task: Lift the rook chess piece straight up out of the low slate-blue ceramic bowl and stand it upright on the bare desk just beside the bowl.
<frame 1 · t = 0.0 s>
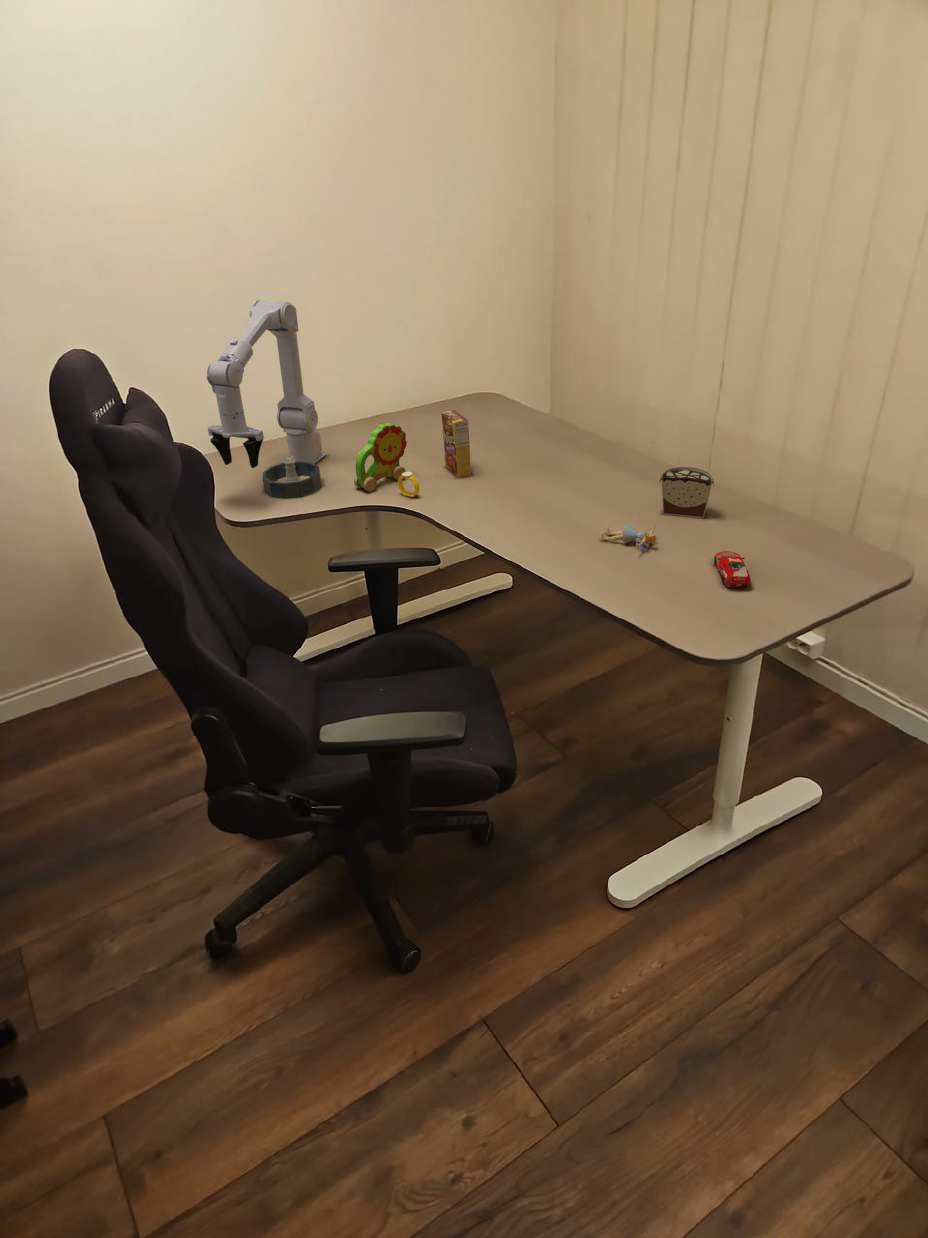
hand: (241, 464, 218), 10 cm above the table, tool pointing down, fingers open, 7 cm apart
rook chess piece: (293, 487, 231), resting in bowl
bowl: (293, 486, 231), on the table
toy lion: (384, 482, 231), on the table
race car: (731, 575, 183), on the table
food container: (684, 511, 209), on the table
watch: (409, 496, 223), on the table
fairy figurine: (629, 543, 196), on the table
candy box: (457, 471, 235), on the table
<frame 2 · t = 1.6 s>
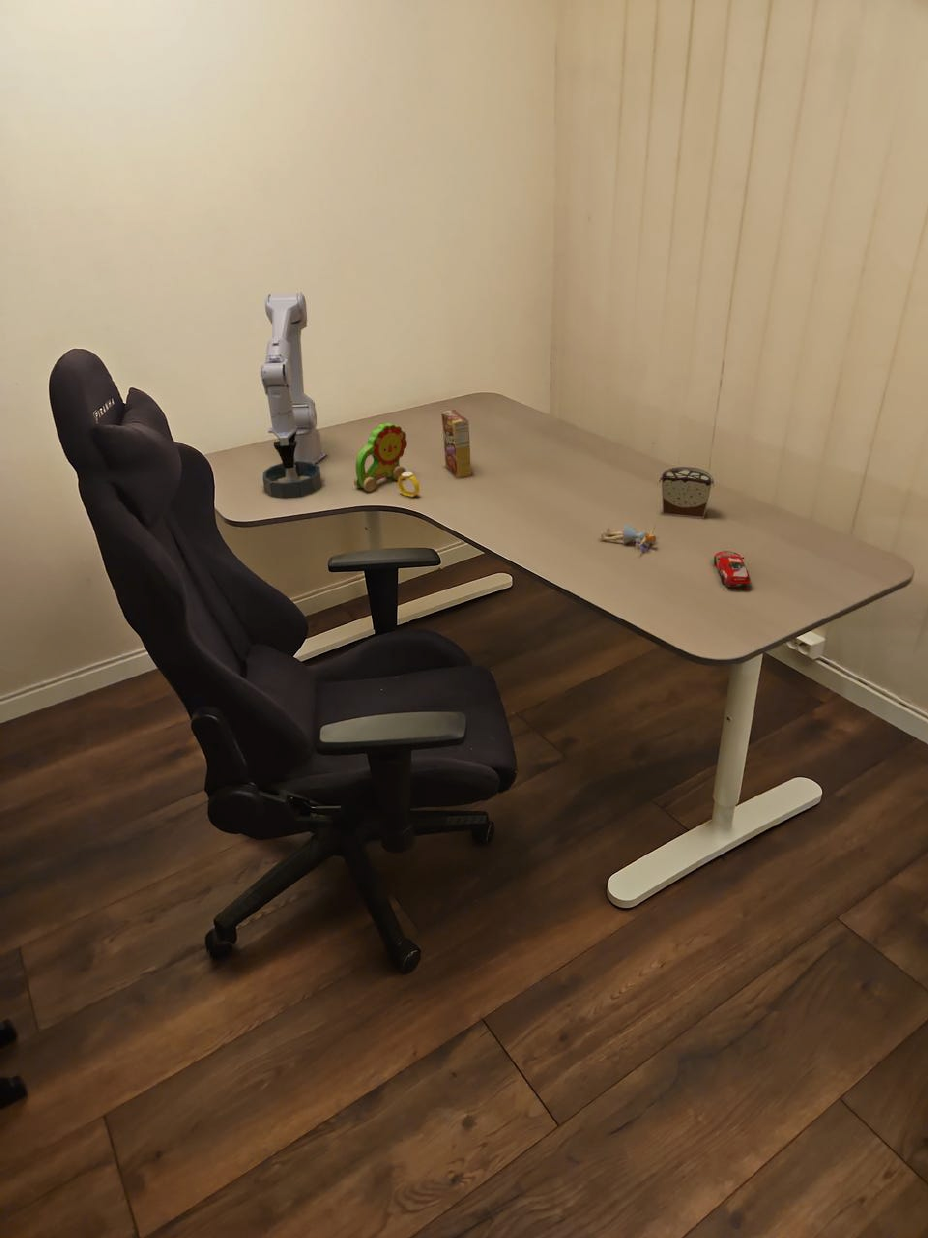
hand: (289, 462, 227), 7 cm above the table, tool pointing down, fingers open, 7 cm apart
nothing on the table moved.
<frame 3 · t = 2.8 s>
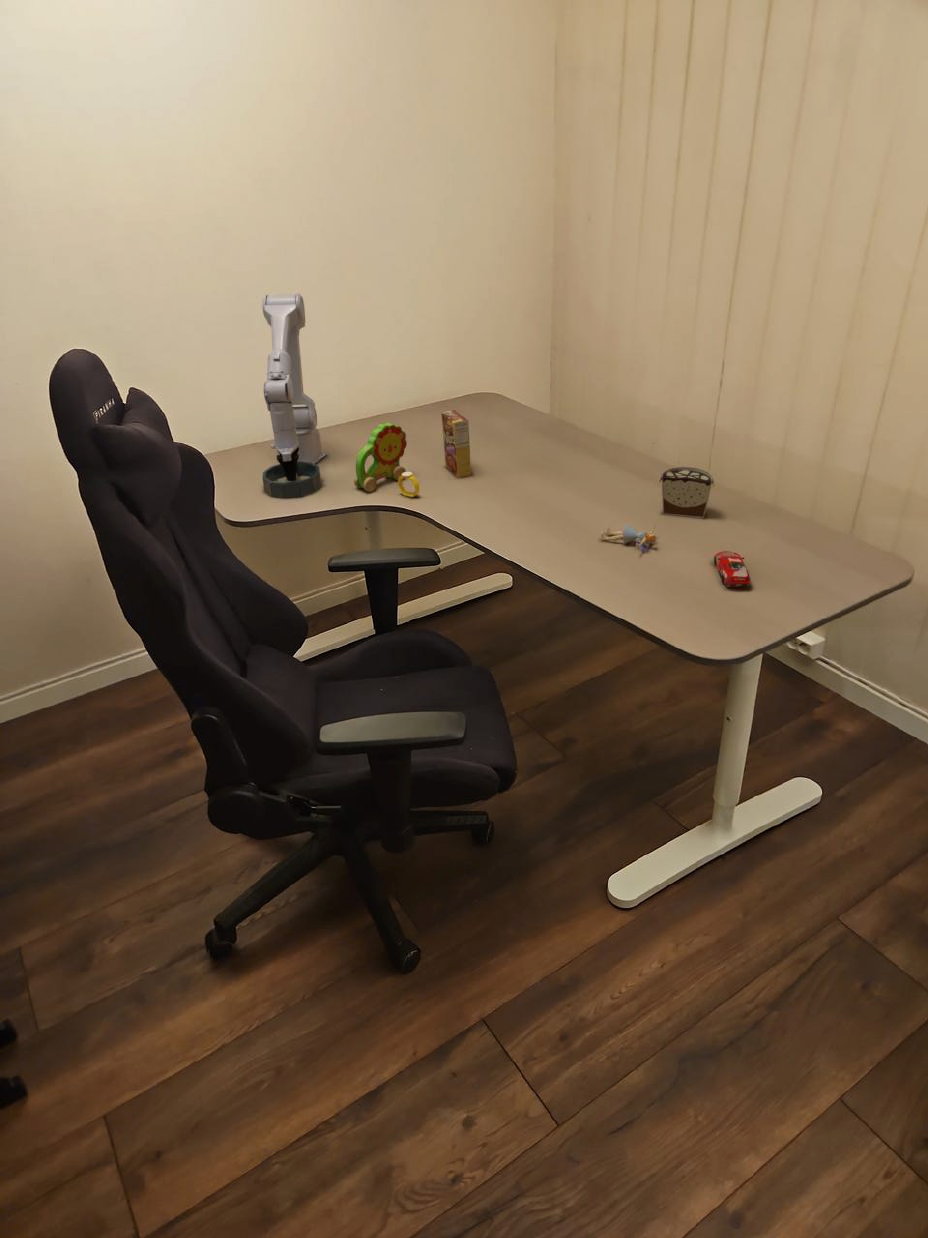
hand: (291, 477, 230), 3 cm above the table, tool pointing down, fingers closed on rook chess piece, 3 cm apart
rook chess piece: (293, 487, 231), resting in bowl, touching gripper
everything else where it was.
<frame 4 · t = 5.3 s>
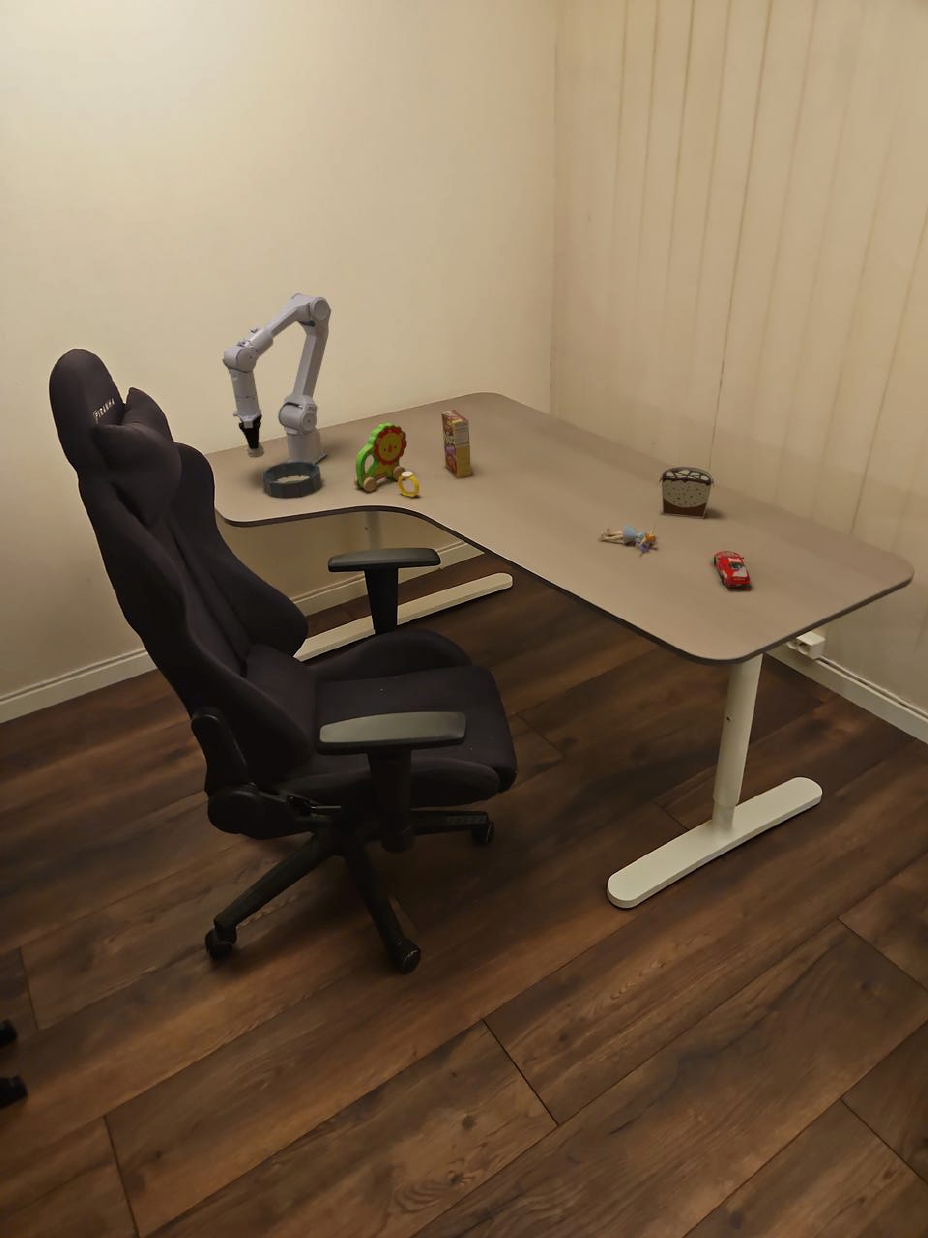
hand: (254, 445, 231), 10 cm above the table, tool pointing down, fingers closed on rook chess piece, 3 cm apart
rook chess piece: (256, 455, 232), point 7 cm above the table, touching gripper
everything else where it was.
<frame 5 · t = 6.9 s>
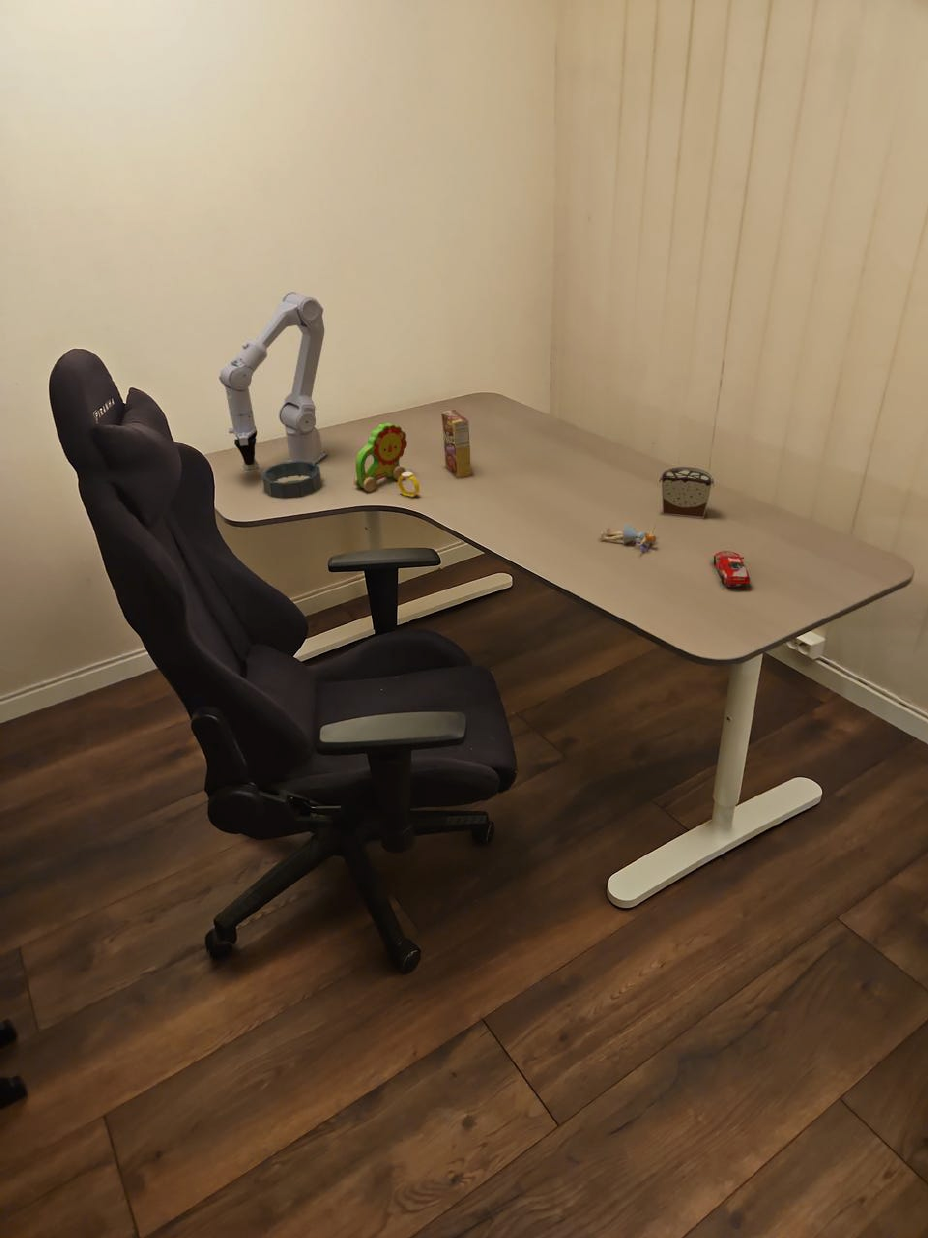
hand: (250, 461, 234), 5 cm above the table, tool pointing down, fingers closed on rook chess piece, 3 cm apart
rook chess piece: (252, 471, 236), point 2 cm above the table, touching gripper
everything else where it was.
when the fingers open (3 cm above the table, at t = 7.9 s): rook chess piece stays where it is, on the table.
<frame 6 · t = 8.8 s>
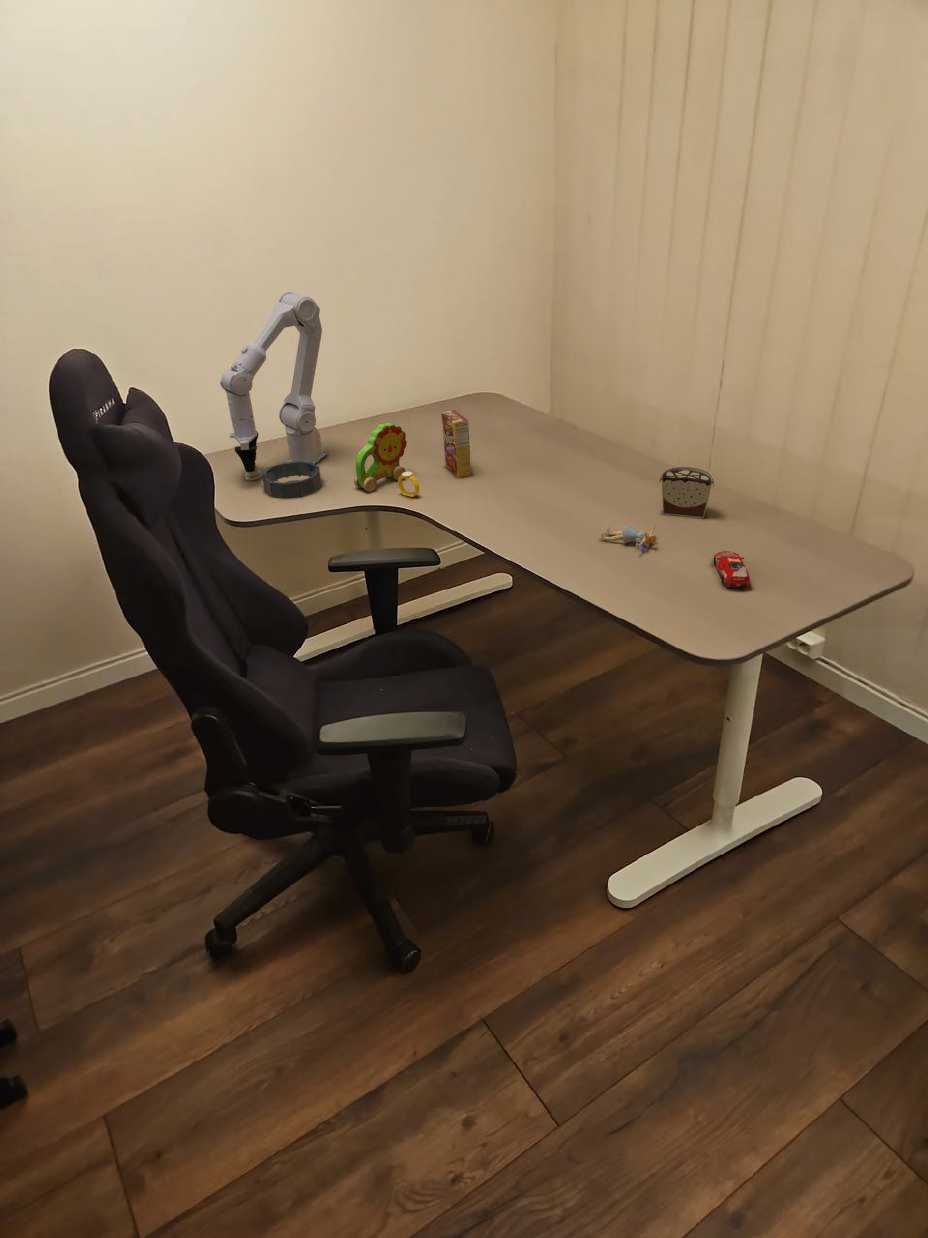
hand: (251, 465, 235), 3 cm above the table, tool pointing down, fingers open, 7 cm apart
rook chess piece: (253, 478, 237), on the table
everything else where it was.
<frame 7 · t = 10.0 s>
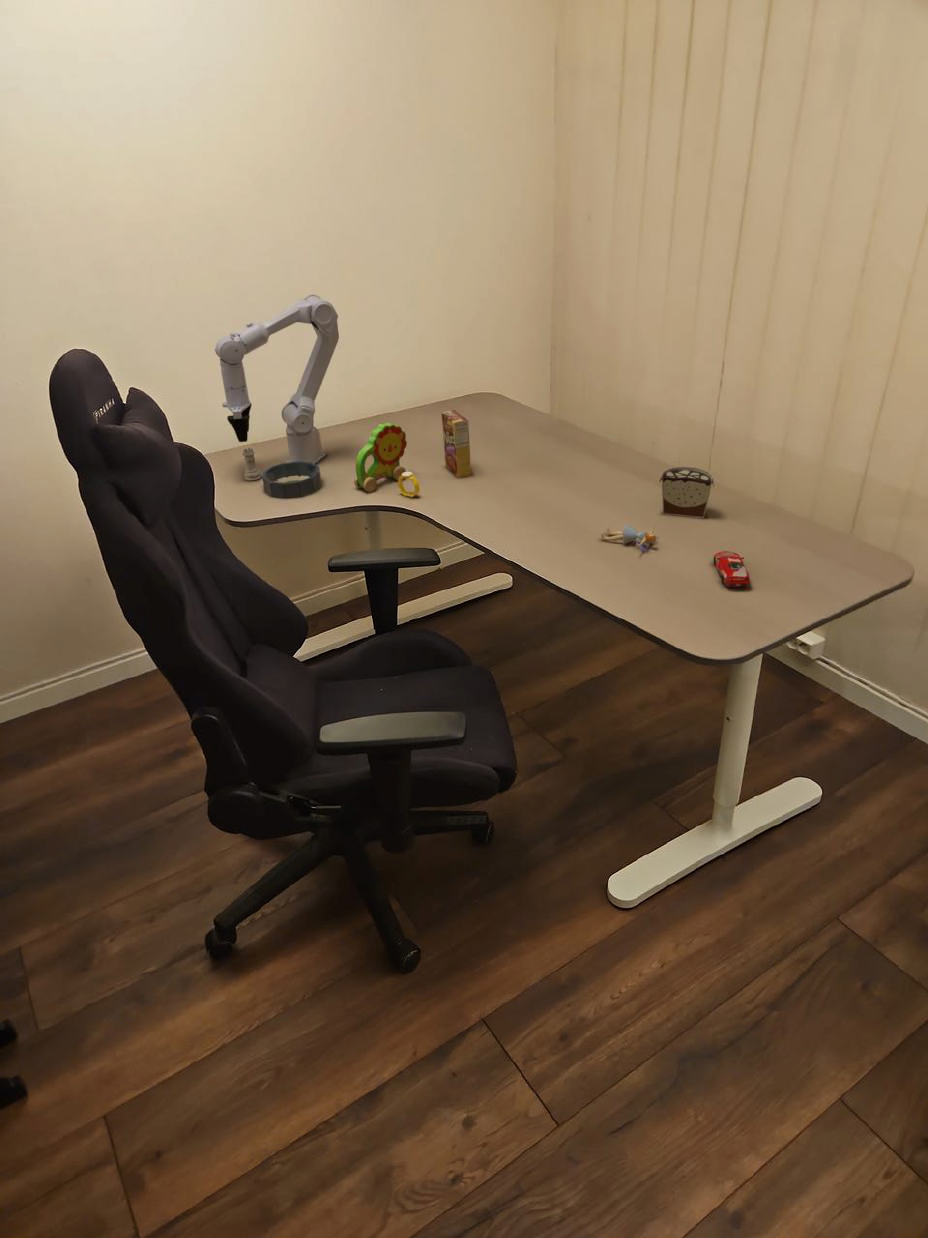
hand: (243, 436, 234), 10 cm above the table, tool pointing down, fingers open, 7 cm apart
nothing on the table moved.
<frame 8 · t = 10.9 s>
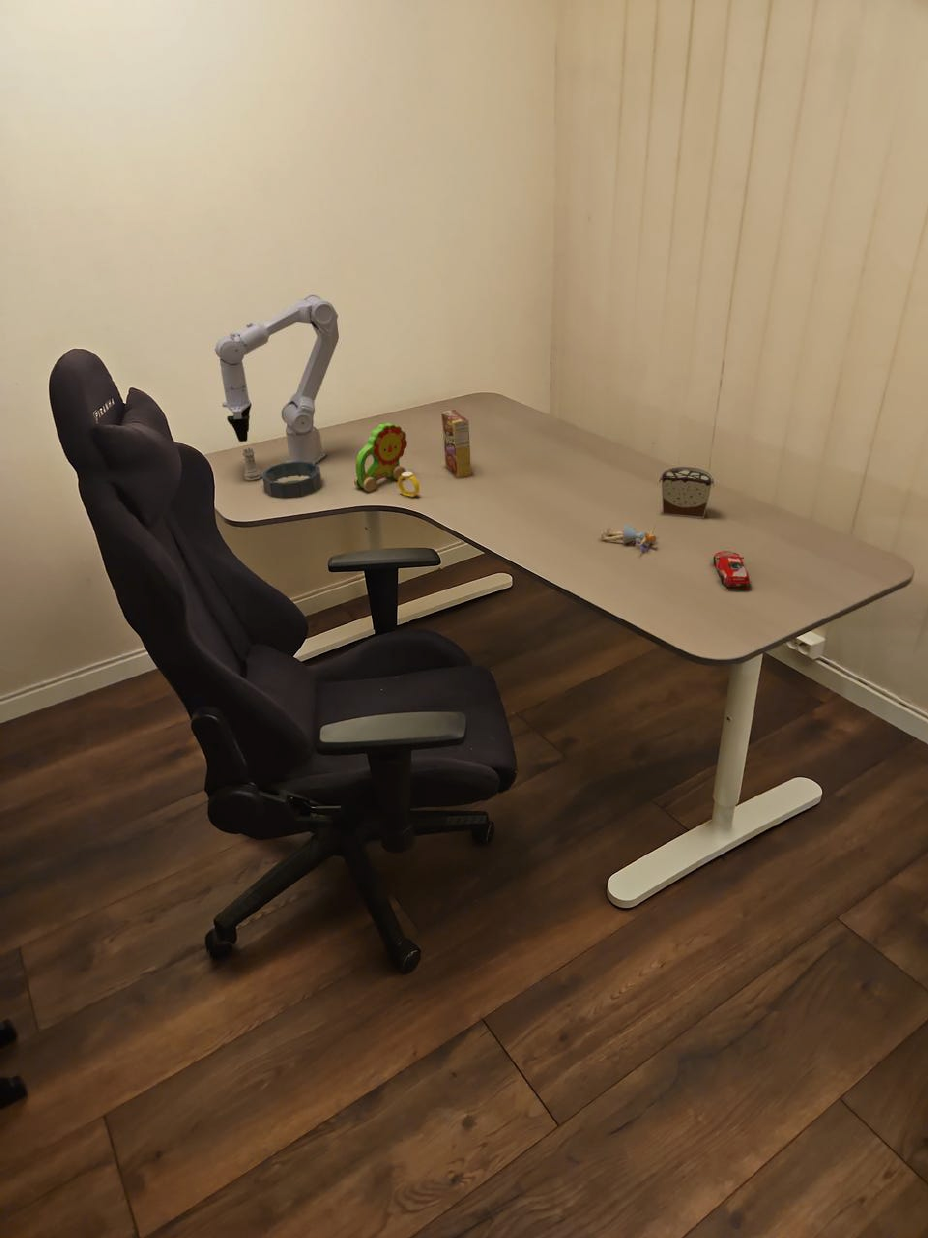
hand: (243, 436, 234), 10 cm above the table, tool pointing down, fingers open, 7 cm apart
nothing on the table moved.
at the end: rook chess piece inside the target area (0.2 cm from its centre), on the table; rook chess piece tilted 0°; rook chess piece touching table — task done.
